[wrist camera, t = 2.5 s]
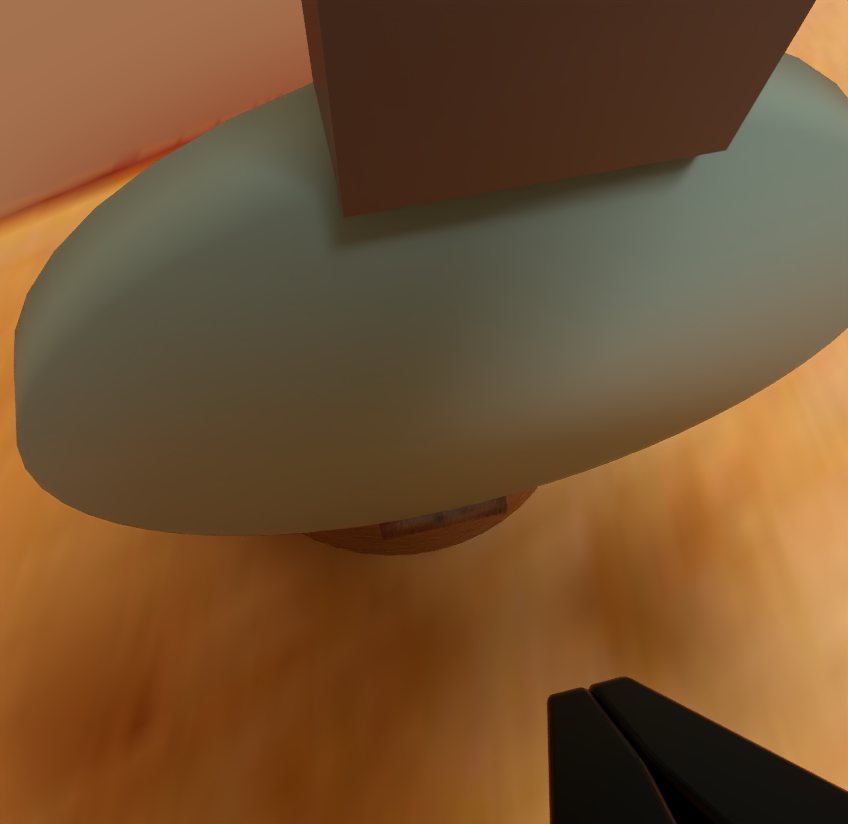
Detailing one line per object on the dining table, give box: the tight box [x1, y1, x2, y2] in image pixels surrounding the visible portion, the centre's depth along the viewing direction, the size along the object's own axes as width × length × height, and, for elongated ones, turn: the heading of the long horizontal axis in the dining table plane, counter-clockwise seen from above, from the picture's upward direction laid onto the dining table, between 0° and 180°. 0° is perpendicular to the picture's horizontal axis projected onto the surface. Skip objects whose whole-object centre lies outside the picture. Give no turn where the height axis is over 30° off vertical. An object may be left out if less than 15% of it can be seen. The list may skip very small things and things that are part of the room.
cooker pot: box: [303, 487, 537, 555], centre depth 21 cm, size 12×15×5 cm
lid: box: [14, 0, 848, 536], centre depth 9 cm, size 15×12×1 cm
